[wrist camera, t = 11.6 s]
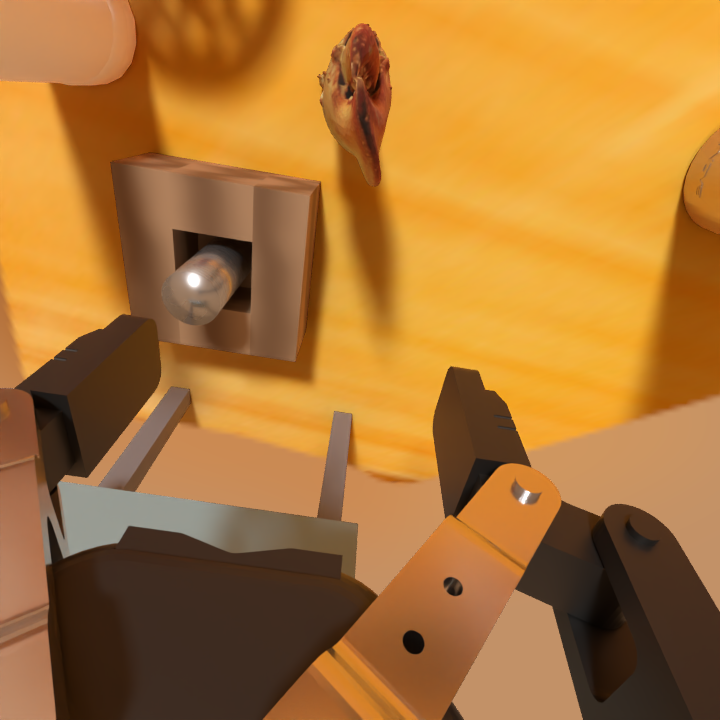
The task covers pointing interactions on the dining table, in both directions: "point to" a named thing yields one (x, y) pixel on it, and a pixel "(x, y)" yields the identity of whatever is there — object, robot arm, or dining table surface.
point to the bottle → (66, 41)
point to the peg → (207, 280)
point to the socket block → (200, 226)
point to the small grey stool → (202, 519)
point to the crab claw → (358, 97)
